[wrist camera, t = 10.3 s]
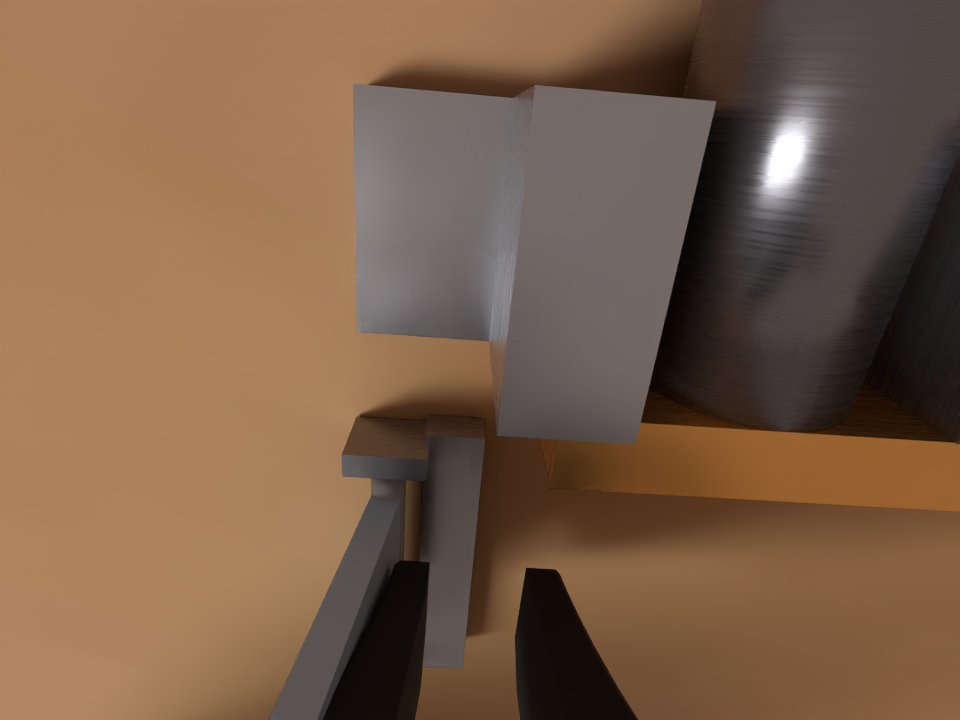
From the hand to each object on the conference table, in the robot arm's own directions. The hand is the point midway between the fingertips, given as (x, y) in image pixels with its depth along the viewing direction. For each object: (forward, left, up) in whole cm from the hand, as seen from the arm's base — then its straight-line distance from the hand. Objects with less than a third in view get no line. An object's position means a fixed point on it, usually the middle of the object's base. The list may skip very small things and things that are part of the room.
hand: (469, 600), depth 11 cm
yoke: (+7, -4, -2) cm, 9 cm away
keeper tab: (0, +2, -1) cm, 2 cm away
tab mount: (0, +1, -2) cm, 2 cm away
